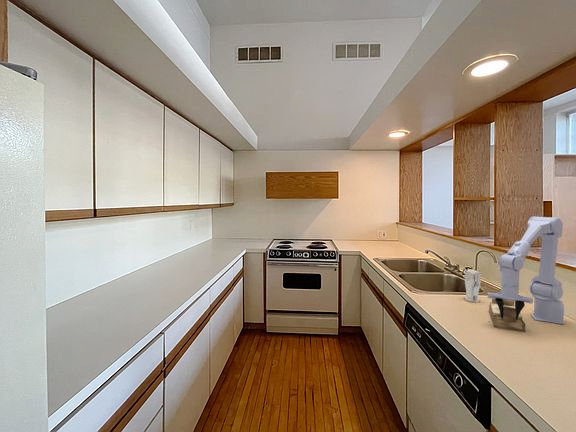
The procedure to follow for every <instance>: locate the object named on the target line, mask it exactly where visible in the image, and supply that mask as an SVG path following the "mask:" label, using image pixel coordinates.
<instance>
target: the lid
mask: <svg viewBox="0 0 576 432" xmlns="http://www.w3.org/2000/svg"><path fill="white" fill-rule="evenodd" d="M503 303H504V305H503V306H504V307H511V308H515V301H510V300H503ZM489 305H490V306H491V309H492V312H493V315H497V316H500V310H499V307H498V304H497V302H496V300H495V299H493V298H491V301H490V302H489ZM518 319H523V315H522V314H521V313H520V314H519V316H518Z"/></svg>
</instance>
